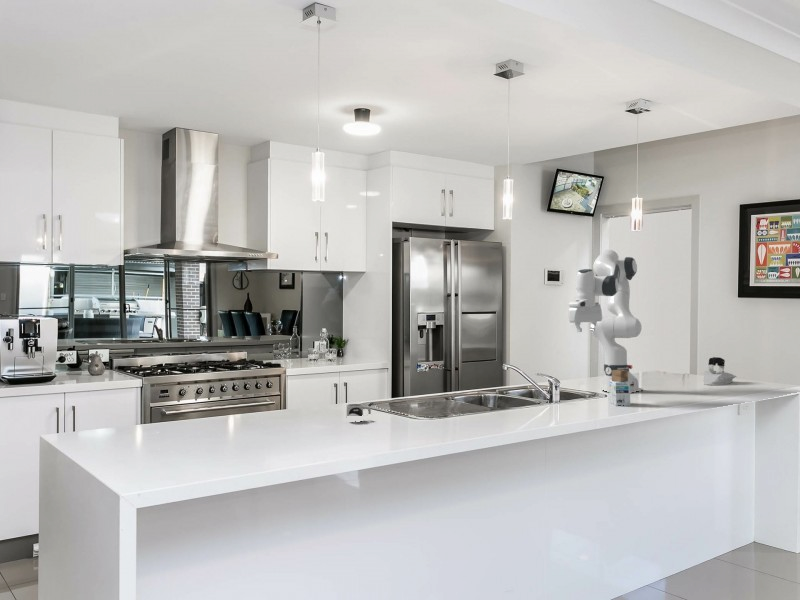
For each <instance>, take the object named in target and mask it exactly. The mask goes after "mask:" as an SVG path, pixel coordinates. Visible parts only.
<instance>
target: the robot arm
mask: <svg viewBox="0 0 800 600" xmlns="http://www.w3.org/2000/svg"><path fill="white" fill-rule="evenodd" d="M637 269H638V264H637V262H636V259H635V258H633V257H631V256H626V257H619V254H618V253H617V252H616V251H615V250H612V249H606V250H604V251H603V252H601V253H600V254H599V255H598V256H597V257H596V259H595V260H594V261H593V266H592V269H590V268H584V269H579V270H577V273H576V280H575V287H576V288H575V289H576V297H575V299H573V300H572V301H569V303H568V307H569V309H568V321H569V323H573V324H574V326H575V328H576V333H582V332H583V328H581V323H590V326H589V329H590V330H589V331H590V332H591V335H593V336H594V337H595V338H596V339H597V340H598V341H599V342H600V343H601V345H602V347H603V350H604V351H603V353H604V365H603V371H604V374H603V375H602V377H603V378H602V387H601V388H602V390H604V391H607V392H606V393H610V380H612V370H628V381H626V382H629V383H630V394H632V393H631V392H634V393H637V392H636V391H639V392H642V391H641V390H643V391H644V388H642V387H639V380H638V378H637V377H636V376H635V375H633V374H632V372H631V371H630V370H632V369H633V364H628V353H627V352H628V351H627V349H626V348H625V346H623V345H621V344H619V343H617V342H616V339H631V338H637V337H638V336H639V335H640V334H641V332H642V322H641V321H640V319H638V318H637V317H635V316H634V315H633V314H632V312H631V310H630V295H631V287H630V281H631V280H632V279H633V277H635V275H636V274H637V272H638V271H637ZM600 296H603V297H604V296H605V297H607V302H606V308H607V310H608V311H609V312H610V313H611V314H613V315H615V316H603V312H602V308H601V304H600V303H599V302H596V297H600ZM602 390H601V391H602ZM604 391H603V392H604Z"/></svg>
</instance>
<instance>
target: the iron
mask: <svg viewBox="0 0 800 600" xmlns="http://www.w3.org/2000/svg"><path fill="white" fill-rule="evenodd" d="M725 361H726V360H725V359H723V358H722V357H718V356H716V357H715V356H713V357H710V358H709V360H708V370H706V371H704V373H703V385H705V386H706V385H707V386H723V385H728V384H731V383H732V382H733V381H734V379H735V378H737V375H734V374H732V373H729V372H726V371H725V366H726V364H725ZM716 365H717V366H718V371H716V370H714V366H716Z"/></svg>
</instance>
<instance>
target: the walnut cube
mask: <svg viewBox="0 0 800 600" xmlns="http://www.w3.org/2000/svg"><path fill="white" fill-rule="evenodd" d="M612 381H616V382H626V381H628V370H612Z"/></svg>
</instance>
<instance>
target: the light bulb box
mask: <svg viewBox="0 0 800 600" xmlns="http://www.w3.org/2000/svg"><path fill="white" fill-rule="evenodd" d="M609 403H610V404H612V405H613V404H614V405H613V406H615V405H616V406H615V407H619V406H618V405H621V406H620V407H631V393H630V383H629V382H616V381H612V380H610V392H609ZM623 405H624V406H623Z"/></svg>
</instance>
